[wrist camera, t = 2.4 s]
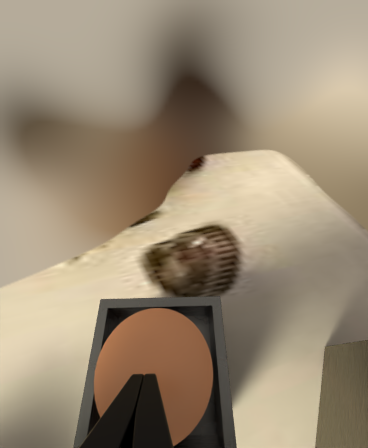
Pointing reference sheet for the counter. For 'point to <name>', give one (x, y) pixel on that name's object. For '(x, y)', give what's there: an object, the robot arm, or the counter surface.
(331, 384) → the teal button housing
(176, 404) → the orange button
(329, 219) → the counter surface
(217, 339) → the orange button housing
